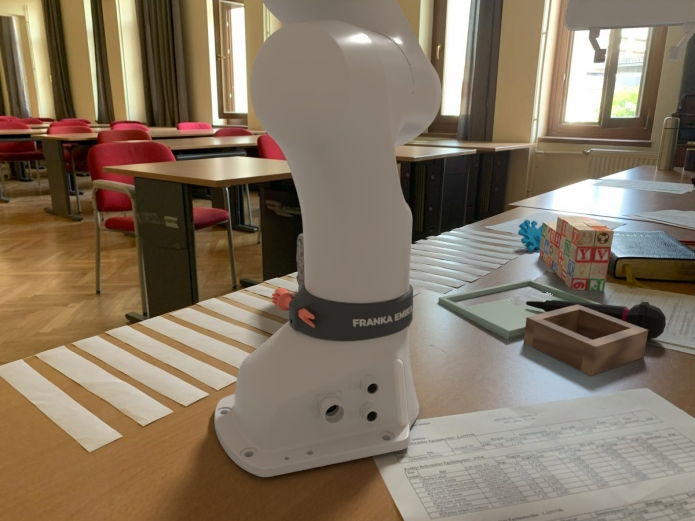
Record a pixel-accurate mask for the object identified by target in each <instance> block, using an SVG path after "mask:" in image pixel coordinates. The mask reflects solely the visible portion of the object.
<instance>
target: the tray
mask: <svg viewBox="0 0 695 521" xmlns="http://www.w3.org/2000/svg"><path fill="white" fill-rule="evenodd" d="M528 286H531V287H533V288H536V289H538V290H539V291H542V292H545V291H546V292H548V293H551V295H552V294H553V295H552V296H551V297H550V298H549V299H548V300H549V301H551V300H560V301H571V302H581V303H592V304H601V303H600V302H597V301H593V300H591V299H588V298H585V297H582V296H579V295H577V294H573V293H571V292H568V291H565V290H563V289H562V290H561V289H559V288H556V287H553V286H550V285H547V284H546V283H542V282H539V281H536V280H533V279H531V278H529V279H524V280H519V281H514V282H509V283H504V284H500V285H498V284H497V285H494V286H489V287H485V288H480V289H475V290H470V291H465V292H460V293H459V292H458V293H454V294H450V295H449V294H448V295H446V296H445V295H444V296H440V297H438V300H437V301H438V303H439V304H441V305H442V306H444V307H446V308H448V309H450V310H452V311H453V312H455V313H457V314H459V315H461V316H462V317H464V318H465V319H467V320H470V321H471V322H474V323H475V324H477V325H479V326H481V327H483V328H484V329H486V330H487V331H490V332H492V333H493V334H495V333H496V335H497V334H498V335H497V336H499V335H500V336H499V337H501V336H502V337H501V338H503V337H504V338H506V339H507V340H506V339H505V340H506V341H508V340H509V341H511V340H510V339H512V340H515V339H514V338H516V339H519V338H523V337H524V335H525V326H526V317H529V316H533V315H537V314H541V313H545V311H544V310H543V309H538V308H535V307H532V306H529V305H525V304H526V303H525V304H523V305H522V304H521V305H519V306H518V305H517V306H516V305H514V306H513V305H512V306H511V305H510V304H509V305H508V304H507V301H508V300H509V299H511V298H512V297H510V298H504V299H500V300H494V301H488V302H483V303H477V304H472V305H467V306H463V305H461V304H459V303H456V302H457V301H462V300H466V299H472V298H475V297H480V296H486V295H490V294H494V293H495V294H496V293H499V292H500V293H501V292H504V291H509V290H513V289H519V288H523V287H528ZM549 296H550V295H549ZM535 298H536V297H535ZM547 298H548V297H547ZM531 300H532V299H531ZM531 300H530V301H531ZM545 300H546V299H545ZM533 301H535V299H533ZM536 301H538V298H537V299H536ZM539 301H540V299H539ZM542 301H543V299H542ZM544 302H545V301H544ZM522 336H523V337H522ZM518 337H519V338H518ZM504 338H503V339H504Z"/></svg>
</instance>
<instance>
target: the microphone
mask: <svg viewBox="0 0 695 521" xmlns="http://www.w3.org/2000/svg"><path fill="white" fill-rule="evenodd" d="M577 304H578V305H581V306H584V307H586V308H589V309H592V310H595V311H597V312H600V313H603V314H606V315H608V316H611V317H614V318H617V319H619V320H622V321H625V322H628V323H630V324H633V325H636V326H639V327H641V328H644V329H647V330H648V335H647V340H653V339H657V338H658V337H660V336H661V335H662V334H664V331H665V328H666V325H667V322H666V319H667V318H666V315H665V314H664V312H663V311H662V309H661V308H660V307H657V306H656V305H652V304H650V303H649V301H642V302H641V303H639V304H635V305H633V306H632V307H631V308H628V307H627V306H622V305H614V304H613V305H610V304H603V303H600V304H592V303H581V302H571V301H560V300H551V301H549V300H546V301H545V302H543V301H527V302H526V305H529V306H532V307H535V308H538V309H543V310H544V311H545V312H549V311H553V310H557V309H561V308H565V307H569V306H573V305H577Z"/></svg>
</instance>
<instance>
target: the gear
mask: <svg viewBox="0 0 695 521" xmlns="http://www.w3.org/2000/svg"><path fill="white" fill-rule="evenodd" d="M537 225H538V221H536V220H533V221H530V220H529V219H525V220H524V221H523V222H521V223H520V224H519V225H518V228H519V230H518V232H517V235H519V236H521V237H522V238H520V242H521V244H522V245H523V246H524V247H526V249H527V251H528V252H530V253H532V251H534V250H535V249H536V250H537V251H536V253H537V254H540V245H541V237H542V235H541V232H542V224H541V225H540V226H539V227H538V228H537V227H536V226H537Z"/></svg>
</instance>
